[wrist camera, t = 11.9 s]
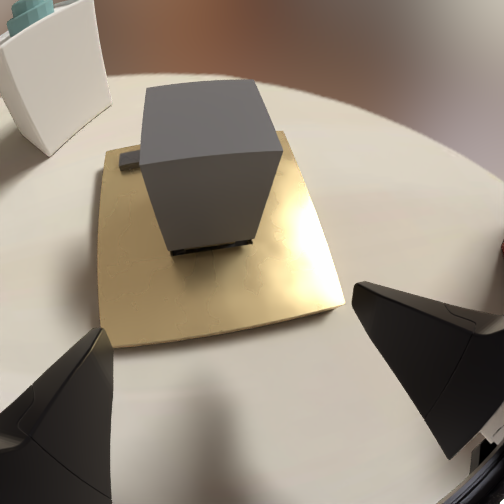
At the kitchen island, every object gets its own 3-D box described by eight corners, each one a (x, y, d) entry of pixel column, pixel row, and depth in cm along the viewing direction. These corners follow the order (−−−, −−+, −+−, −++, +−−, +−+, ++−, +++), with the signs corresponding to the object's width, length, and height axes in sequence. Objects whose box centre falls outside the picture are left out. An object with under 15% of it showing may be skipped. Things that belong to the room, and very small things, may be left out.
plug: (250, 252, 17) (283, 150, 9) (173, 264, 16) (139, 165, 8) (235, 190, 19) (253, 79, 10) (167, 198, 18) (146, 88, 10)
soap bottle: (75, 89, 23) (48, -40, 5) (114, 103, 22) (91, -63, 4) (21, 134, 19) (-30, 3, 2) (49, 158, 18) (-17, -17, 1)
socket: (335, 308, 17) (349, 301, 15) (112, 348, 14) (98, 345, 12) (279, 143, 22) (284, 125, 20) (111, 163, 19) (104, 146, 17)
